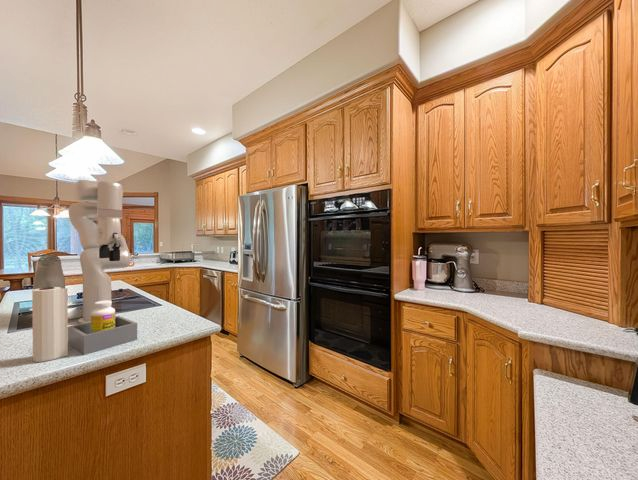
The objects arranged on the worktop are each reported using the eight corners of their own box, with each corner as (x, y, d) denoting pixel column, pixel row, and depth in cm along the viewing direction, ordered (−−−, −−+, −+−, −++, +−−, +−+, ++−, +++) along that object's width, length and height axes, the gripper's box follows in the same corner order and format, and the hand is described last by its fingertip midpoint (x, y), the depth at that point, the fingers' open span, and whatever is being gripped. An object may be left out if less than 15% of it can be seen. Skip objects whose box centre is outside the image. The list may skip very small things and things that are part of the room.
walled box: (67, 344, 92) (67, 326, 91) (118, 331, 104) (118, 315, 104) (84, 355, 84) (84, 336, 83) (137, 339, 96) (137, 323, 96)
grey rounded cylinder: (31, 317, 119) (30, 254, 119) (62, 312, 128) (61, 253, 127) (35, 321, 114) (35, 256, 113) (68, 316, 122) (67, 254, 121)
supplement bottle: (101, 342, 90) (101, 304, 90) (85, 340, 91) (85, 303, 91) (119, 335, 97) (119, 300, 96) (104, 333, 98) (104, 299, 98)
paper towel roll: (28, 360, 80) (27, 289, 79) (54, 352, 85) (54, 285, 85) (41, 365, 77) (41, 291, 77) (67, 356, 83) (67, 287, 82)
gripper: (89, 213, 103) (88, 257, 104) (106, 214, 93) (106, 263, 94) (112, 214, 109) (111, 256, 110) (131, 215, 100) (130, 261, 100)
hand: (109, 259), depth 102 cm, fingers open, 9 cm apart
